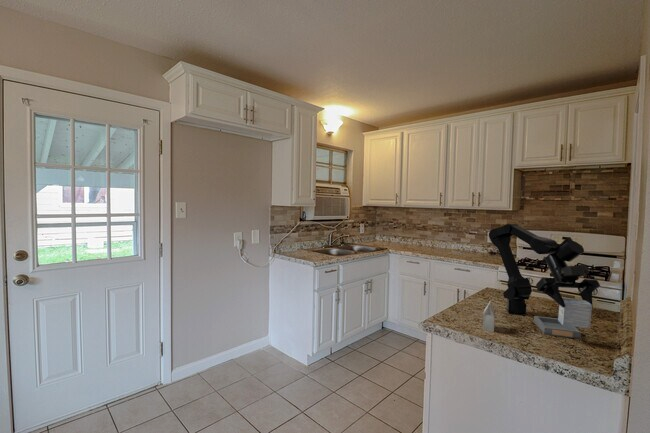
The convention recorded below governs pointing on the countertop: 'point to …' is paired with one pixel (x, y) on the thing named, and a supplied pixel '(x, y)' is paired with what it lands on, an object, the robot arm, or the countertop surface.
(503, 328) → the countertop surface
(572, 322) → the medicine box
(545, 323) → the tray
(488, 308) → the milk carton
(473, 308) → the countertop surface
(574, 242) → the robot arm
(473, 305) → the countertop surface
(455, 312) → the countertop surface
